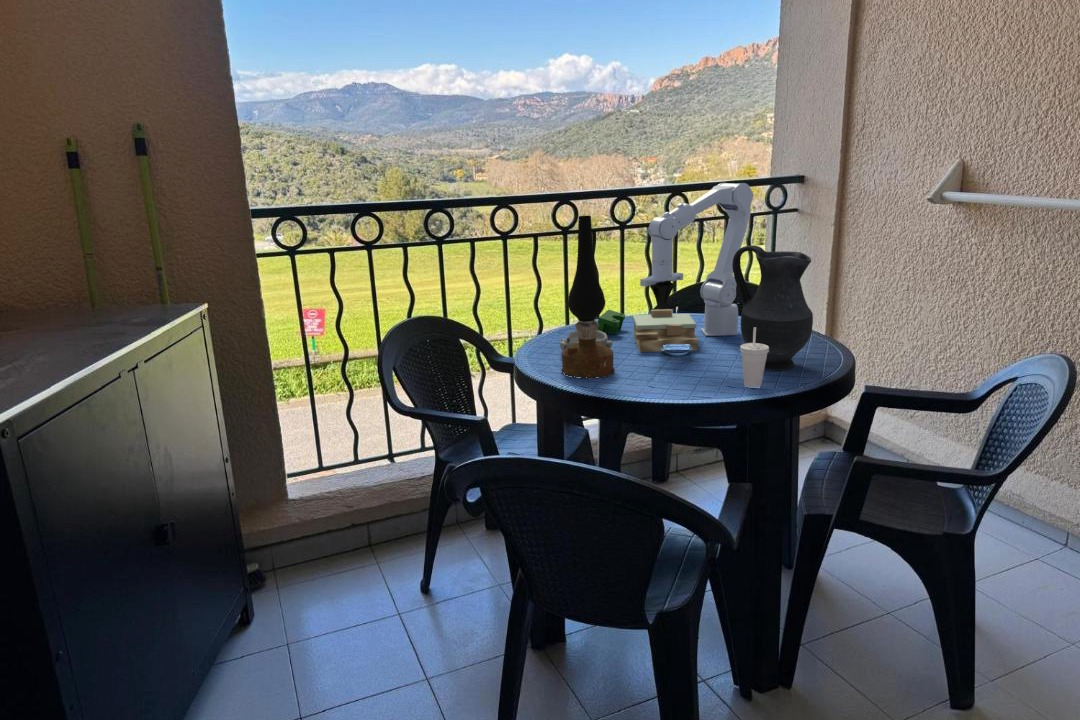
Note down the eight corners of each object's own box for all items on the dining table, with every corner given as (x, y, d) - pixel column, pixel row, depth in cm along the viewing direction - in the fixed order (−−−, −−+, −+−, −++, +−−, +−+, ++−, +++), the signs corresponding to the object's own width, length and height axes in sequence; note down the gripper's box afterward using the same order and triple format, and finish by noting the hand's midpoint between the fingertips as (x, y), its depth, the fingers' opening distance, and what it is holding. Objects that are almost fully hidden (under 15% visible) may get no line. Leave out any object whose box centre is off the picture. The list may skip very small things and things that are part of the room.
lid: (688, 322, 203) (688, 307, 202) (696, 334, 190) (697, 318, 188) (632, 324, 204) (632, 309, 203) (637, 336, 190) (637, 320, 189)
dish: (560, 359, 185) (559, 342, 183) (560, 346, 198) (559, 329, 197) (613, 358, 184) (613, 340, 183) (609, 344, 197) (609, 328, 196)
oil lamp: (618, 378, 178) (643, 225, 171) (603, 386, 164) (629, 220, 157) (569, 367, 183) (592, 218, 176) (550, 375, 169) (573, 213, 162)
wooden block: (656, 336, 190) (656, 332, 190) (657, 339, 188) (657, 334, 187) (635, 337, 190) (635, 332, 190) (636, 339, 188) (636, 334, 188)
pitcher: (790, 380, 161) (800, 254, 152) (713, 364, 175) (717, 248, 166) (820, 362, 172) (830, 244, 164) (745, 349, 186) (751, 240, 178)
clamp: (612, 348, 208) (615, 326, 202) (594, 343, 210) (596, 320, 204) (624, 326, 217) (628, 303, 210) (606, 320, 218) (609, 298, 212)
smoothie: (761, 381, 161) (764, 324, 157) (771, 390, 155) (774, 331, 151) (734, 382, 161) (737, 325, 157) (743, 391, 155) (746, 332, 150)
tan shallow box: (687, 334, 204) (687, 318, 202) (697, 350, 188) (698, 332, 186) (633, 336, 205) (634, 320, 203) (639, 351, 188) (639, 334, 187)
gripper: (652, 265, 183) (652, 314, 187) (691, 259, 190) (690, 306, 194) (635, 262, 189) (635, 310, 192) (673, 256, 196) (673, 302, 200)
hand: (661, 307), depth 194 cm, fingers closed
